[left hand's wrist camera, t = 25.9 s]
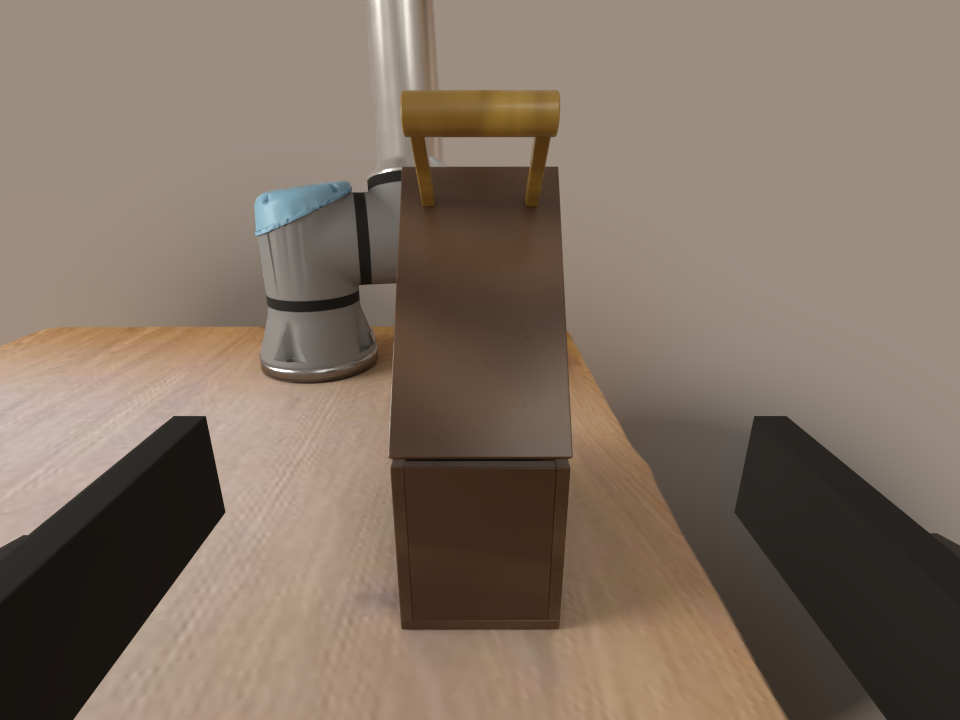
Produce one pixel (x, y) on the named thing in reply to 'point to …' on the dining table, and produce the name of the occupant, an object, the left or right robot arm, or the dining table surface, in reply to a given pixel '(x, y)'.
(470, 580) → the chest
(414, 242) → the lid
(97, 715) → the dining table surface
